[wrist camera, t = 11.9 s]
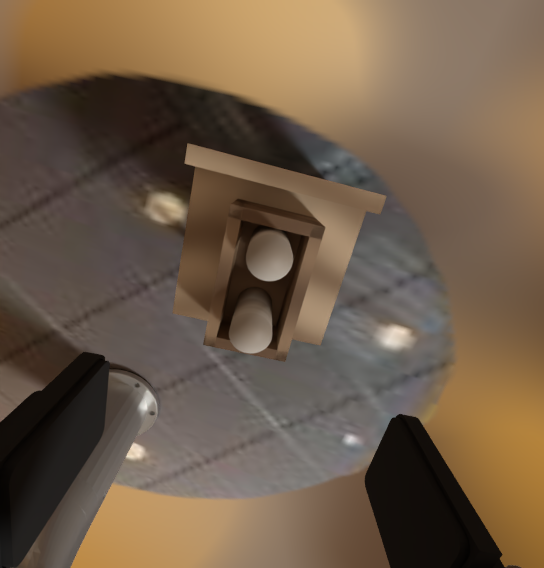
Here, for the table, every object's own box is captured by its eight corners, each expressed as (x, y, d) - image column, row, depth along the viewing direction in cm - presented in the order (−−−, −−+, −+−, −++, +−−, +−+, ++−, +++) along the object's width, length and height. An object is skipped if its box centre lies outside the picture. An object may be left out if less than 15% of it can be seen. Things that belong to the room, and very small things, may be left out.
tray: (282, 332, 27) (286, 374, 21) (214, 317, 26) (198, 356, 20) (315, 217, 23) (330, 231, 18) (238, 198, 23) (227, 206, 17)
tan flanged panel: (301, 283, 43) (326, 365, 24) (209, 261, 42) (160, 330, 23) (330, 186, 38) (386, 196, 20) (228, 159, 37) (187, 143, 19)
